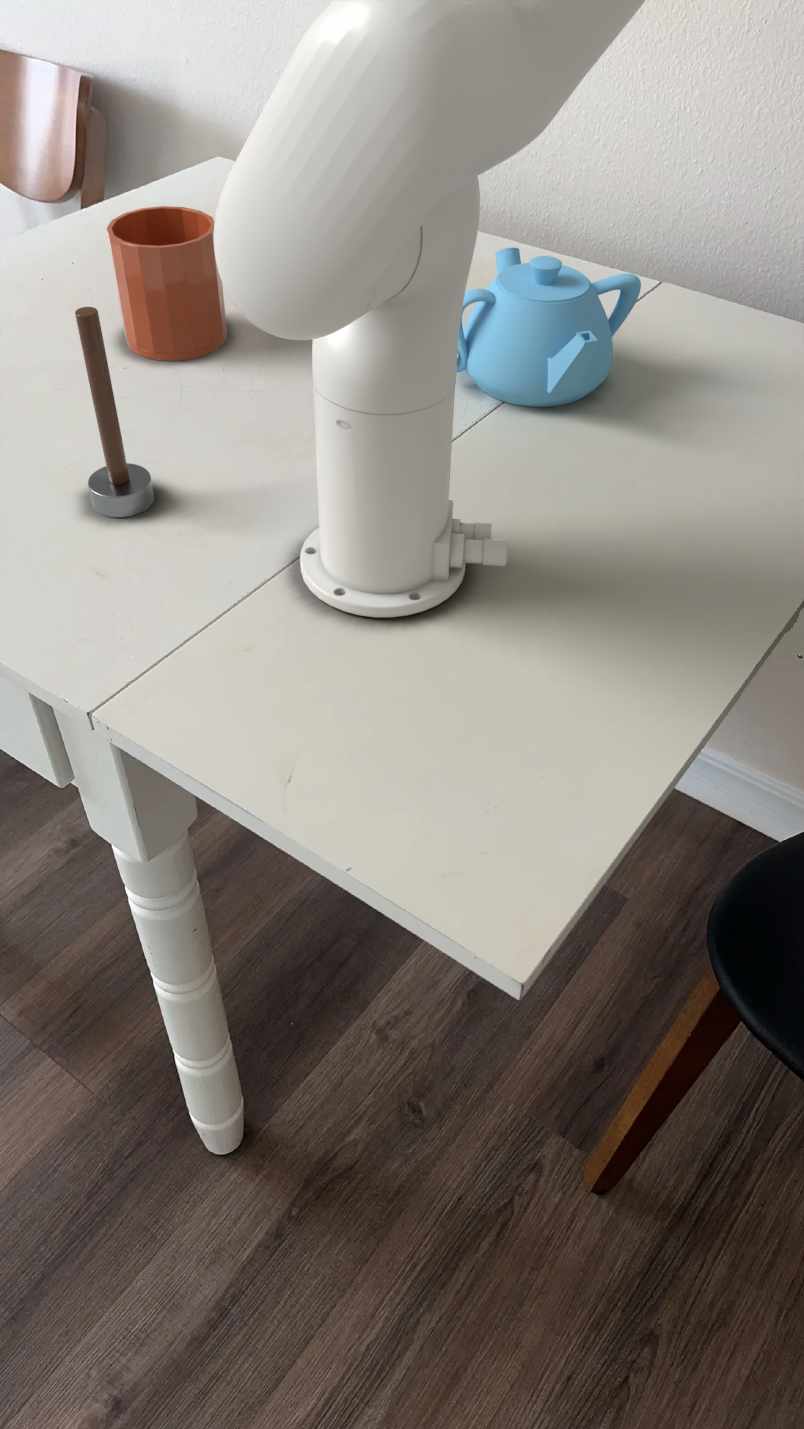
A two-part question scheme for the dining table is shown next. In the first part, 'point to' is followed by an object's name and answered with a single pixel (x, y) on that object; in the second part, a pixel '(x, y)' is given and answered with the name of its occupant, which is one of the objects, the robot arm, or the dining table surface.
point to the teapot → (541, 331)
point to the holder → (168, 282)
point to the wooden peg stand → (110, 433)
